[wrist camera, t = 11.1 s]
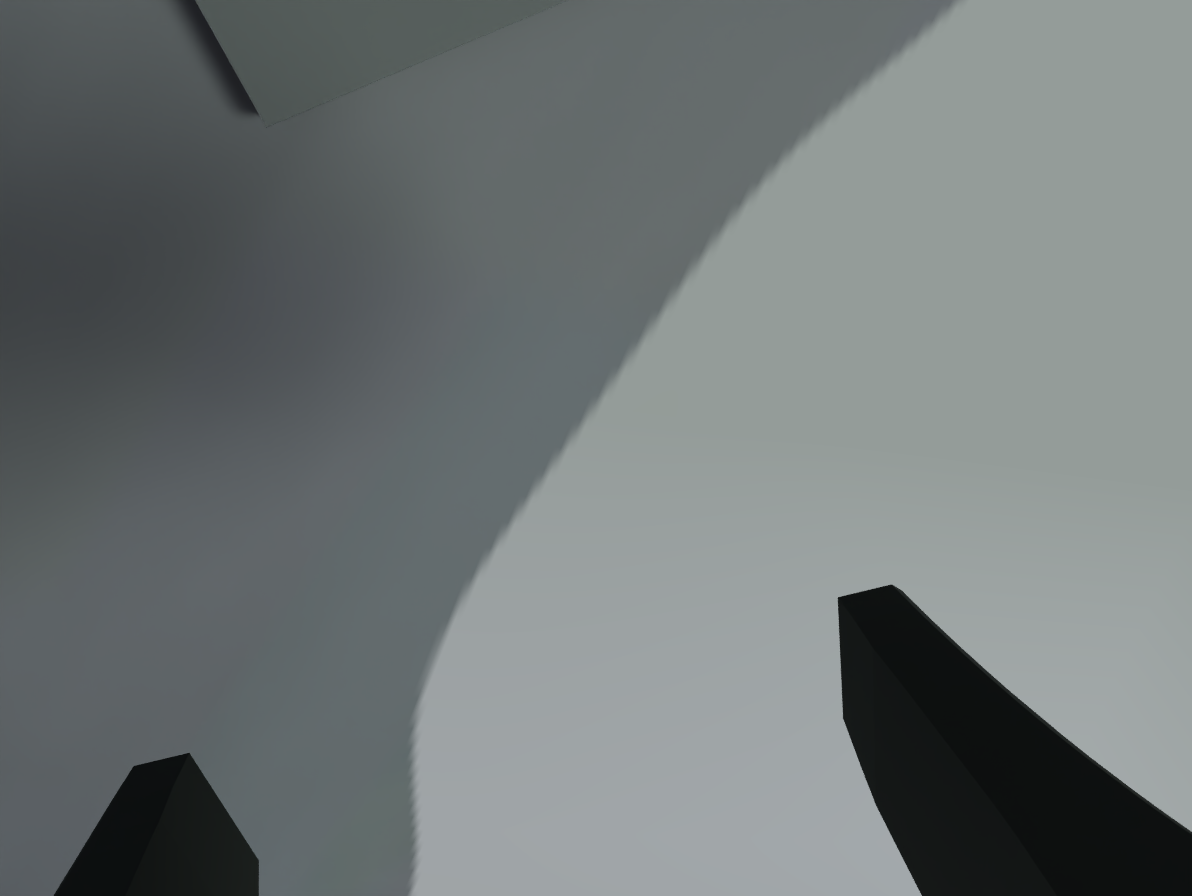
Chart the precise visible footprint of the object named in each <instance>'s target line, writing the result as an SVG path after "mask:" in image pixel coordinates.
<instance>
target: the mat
mask: <svg viewBox="0 0 1192 896" xmlns="http://www.w3.org/2000/svg"><path fill="white" fill-rule="evenodd" d="M195 1H196V3H197V5H198V6H199V8H200V10H201V12H202V14H203V15H204V17H205V19H206V21H207V22H208V24H209V26H210V28H211V30H212V31H213V33H214V35H215V37H216V39H217V40H218V42H219V44H220V46H221V47H222V49H223V51H224V53H225V55H226V56H227V58H228V60H229V62H230V64H231V65H232V67H233V69H234V71H235V72H236V74H237V76H238V78H239V80H240V81H241V83H242V85H243V87H244V88H245V90H246V92H247V94H248V96H249V97H250V99H251V101H252V103H253V105H254V106H255V108H256V110H257V112H258V113H259V115H260V117H261V119H262V121H263V122H264V124H265V126H266V127H269V126H271V125H274V124H276V123H278V122H281V121H283V120H285V119H288V118H290V117H293V116H295V115H297V114H300V113H302V112H304V111H307V110H309V109H312V108H314V107H316V106H319V105H321V104H323V103H326V102H328V101H330V100H333V99H335V98H338V97H340V96H342V95H345V94H347V93H349V92H352V91H354V90H357V89H359V88H361V87H364V86H366V85H368V84H371V83H373V82H376V81H378V80H380V79H383V78H385V77H387V76H390V75H392V74H395V73H397V72H399V71H402V70H404V69H406V68H409V67H411V66H413V65H416V64H418V63H421V62H423V61H425V60H428V59H430V58H432V57H435V56H437V55H440V54H442V53H444V52H447V51H449V50H451V49H454V48H456V47H459V46H461V45H463V44H466V43H468V42H470V41H473V40H475V39H478V38H480V37H482V36H485V35H487V34H489V33H492V32H494V31H496V30H499V29H501V28H504V27H506V26H508V25H511V24H513V23H515V22H518V21H520V20H523V19H525V18H527V17H530V16H532V15H534V14H537V13H539V12H542V11H544V10H546V9H549V8H551V7H553V6H556V5H558V4H561V3H563V2H565V1H568V0H195Z"/></svg>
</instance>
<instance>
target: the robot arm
mask: <svg viewBox="0 0 1192 896" xmlns="http://www.w3.org/2000/svg"><path fill="white" fill-rule="evenodd" d="M838 613H839V633H840V634H839V635H840V657H841V677H842V678H841V679H842V701H843V719H844V722H845V724H846V727H847V730H848V732H849V735H850V738H851V740H852V743H853V746H854V749H855V751H856V754H857V757H858V759H859V762H860V765H861V767H862V770H863V773H864V775H865V778H866V780H867V783H868V785H869V788H870V791H871V793H872V796H873V798H874V801H875V803H876V806H877V808H878V810H879V812H880V814H881V816H882V818H883V820H884V822H885V823H886V826H887V828H888V830H889V832H890V834H891V835H892V838H893V840H894V842H895V844H896V845H897V848H898V850H899V851H900V853H901V855H902V857H903V859H904V861H905V863H906V865H907V867H908V869H909V871H910V873H911V875H912V877H913V879H914V881H915V883H916V885H917V887H918V889H919V891H920V893H921V895H922V896H1192V832H1191V831H1190V830H1188V829H1187V828H1185V827H1184V826H1182V825H1181V824H1179V823H1178V822H1177V821H1175V820H1174V819H1172V818H1171V817H1169V816H1168V815H1167V814H1165V813H1164V812H1163V811H1161V810H1159V809H1158V808H1157V807H1155V806H1154V805H1153V804H1151V803H1150V802H1149V801H1147V800H1146V799H1145V798H1143V797H1142V796H1140V795H1139V794H1138V793H1136V792H1135V791H1134V790H1132V789H1131V788H1130V787H1128V786H1127V785H1126V784H1124V783H1123V782H1122V781H1121V780H1119V779H1118V778H1117V777H1115V776H1114V775H1113V774H1111V773H1110V772H1109V771H1107V770H1106V769H1105V768H1103V767H1102V766H1101V765H1099V764H1098V763H1097V762H1096V761H1094V760H1093V759H1092V758H1090V757H1089V756H1088V755H1087V754H1085V753H1084V752H1083V751H1082V750H1080V749H1079V748H1078V747H1077V746H1075V745H1074V744H1073V743H1071V742H1070V741H1069V740H1068V739H1066V738H1065V737H1064V736H1063V735H1061V734H1060V733H1059V732H1058V731H1057V730H1055V729H1054V728H1053V727H1052V726H1051V725H1049V724H1048V723H1047V722H1046V721H1045V720H1043V719H1042V718H1041V717H1040V716H1039V715H1038V714H1036V713H1035V712H1034V711H1033V710H1032V709H1030V708H1029V707H1028V706H1027V705H1026V704H1024V703H1023V702H1022V701H1021V700H1020V699H1018V698H1017V697H1016V696H1015V695H1013V694H1012V693H1011V692H1010V691H1009V690H1008V689H1006V688H1005V687H1004V686H1003V685H1002V684H1001V683H1000V682H999V681H998V680H996V679H995V678H994V677H993V676H992V675H991V674H990V673H988V672H987V671H986V670H985V669H984V668H983V667H982V666H981V665H979V664H978V663H977V662H976V661H975V660H974V659H973V658H972V657H971V656H970V655H969V654H967V653H966V652H965V651H964V650H963V649H962V648H961V647H960V646H959V645H958V644H957V643H955V642H954V641H953V640H952V639H951V638H950V637H949V636H948V635H947V634H946V633H945V632H944V631H943V630H942V629H941V628H940V627H938V626H937V625H936V624H935V623H934V622H933V621H932V620H931V619H930V618H929V617H928V616H927V615H926V614H925V613H924V612H923V611H922V610H921V609H920V608H919V607H918V606H917V605H916V604H915V603H914V602H913V601H912V600H911V599H910V598H909V597H908V596H907V595H906V594H905V593H904V592H903V591H901V590H900V589H898V588H897V587H895V586H893V585H888V586H883V587H880V588H876V589H871V590H867V591H863V592H859V593H854V594H850V595H846V596H842V597H838ZM54 896H259V860H258V859H257V857H256V856H255V854H254V853H253V851H252V849H251V848H250V846H249V845H248V843H247V842H246V840H245V839H244V837H243V835H242V834H241V832H240V831H239V829H238V828H237V826H236V825H235V823H234V821H233V820H232V818H231V817H230V815H229V814H228V812H227V811H226V809H225V808H224V806H223V804H222V803H221V801H220V800H219V798H218V797H217V795H216V794H215V792H214V790H213V789H212V787H211V786H210V784H209V783H208V781H207V780H206V778H205V776H204V775H203V773H202V772H201V770H200V769H199V767H198V766H197V764H196V763H195V761H194V759H193V758H192V756H191V755H190V753H187V754H183V755H178V756H174V757H170V758H166V759H162V760H158V761H153V762H149V763H145V764H141V765H137V766H134V767H133V768H132V770H131V771H130V773H129V774H128V776H127V778H126V779H125V781H124V782H123V784H122V785H121V787H120V789H119V790H118V792H117V793H116V795H115V796H114V798H113V800H112V801H111V803H110V804H109V806H108V808H107V809H106V811H105V813H104V814H103V816H102V817H101V819H100V821H99V822H98V824H97V826H96V827H95V829H94V831H93V832H92V834H91V835H90V837H89V839H88V840H87V842H86V844H85V845H84V847H83V849H82V850H81V852H80V853H79V855H78V857H77V858H76V860H75V862H74V863H73V865H72V867H71V868H70V870H69V871H68V873H67V875H66V876H65V878H64V880H63V881H62V883H61V884H60V886H59V888H58V889H57V891H56V893H55V894H54Z"/></svg>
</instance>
